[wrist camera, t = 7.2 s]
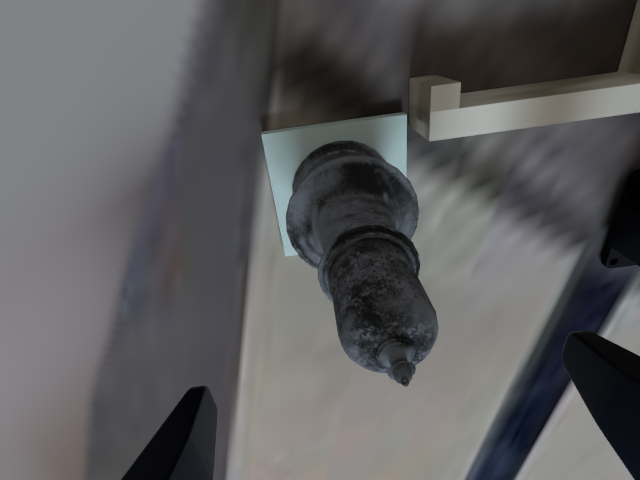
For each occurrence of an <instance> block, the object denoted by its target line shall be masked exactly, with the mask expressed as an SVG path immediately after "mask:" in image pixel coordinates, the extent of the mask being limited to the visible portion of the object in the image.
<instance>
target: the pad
mask: <svg viewBox="0 0 640 480" xmlns="http://www.w3.org/2000/svg"><path fill="white" fill-rule="evenodd" d="M261 136H262V141H263V146H264V151H265V156H266V161H267V166H268V171H269V176H270V181H271V186H272V191H273V196H274V201H275V206H276V211H277V216H278V221H279V226H280V231H281V236H282V241H283V246H284V251H285V256H294V255H298V253H297V252H296V251H295V249H294V248H293V247H292V245H291V242H290V239H289V237H288V234H287V229H286V212H287V208H288V204H289V199H290V197H291V196H292V194H293V189H292V186H293V181H294V177H295V173H296V172H297V170H298V168H299V166H300V164H301V163H302V161H303V160H304V159H305V158H306V157H307V156H308V155H309V154H310V153H311V152H312V151H314V150H316V149H317V148H319V147H321V146H322V145H325V144H328V143H332V142H335V141H355V142H359V143H363V144H366V145H367V146H369V147H371V148H372V149H374V150H376V151H377V152H378V153H379V154H380V155H381V156H382V158H383V159H384V160H385V161H386V162H387V163H389V164H391V165H393V166H394V167H396V168H398V169H399V170H400V171H401V172H402V173H403V175H404V176H405V177H406V148H407V114H405V113H404V112H400V113H393V114H385V115H378V116H371V117H364V118H356V119H349V120H342V121H335V122H327V123H320V124H313V125H306V126H298V127H291V128H284V129H277V130H269V131H262V134H261Z"/></svg>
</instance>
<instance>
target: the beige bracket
mask: <svg viewBox="0 0 640 480" xmlns="http://www.w3.org/2000/svg"><path fill="white" fill-rule="evenodd" d="M460 91H461V82H458V81H455V80H452V79H448V78H445V77H441V76H438V75H429V76H421V77H414V78H410V87H409V126H410V127H412V128H413V129H414V130H415V131H417V132H418V133H419V134H420V135H422V136H423V137H424V138H426V139H427V140H428V141H436V140H443V139H450V138H457V137H464V136H472V135H479V134H486V133H493V132H501V131H508V130H515V129H522V128H530V127H537V126H544V125H551V124H559V123H566V122H573V121H580V120H587V119H595V118H602V117H609V116H616V115H624V114H631V113H638V112H640V0H637V3H636V7H635V10H634V14H633V18H632V21H631V25H630V28H629V32H628V36H627V39H626V43H625V46H624V50H623V54H622V57H621V61H620V64H619V68H618V72H612V73H605V74H598V75H591V76H583V77H576V78H569V79H562V80H554V81H547V82H540V83H533V84H525V85H518V86H511V87H504V88H496V89H489V90H482V91H475V92H467V93H460Z"/></svg>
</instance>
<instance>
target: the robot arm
mask: <svg viewBox="0 0 640 480" xmlns="http://www.w3.org/2000/svg"><path fill="white" fill-rule="evenodd" d="M601 263H602V264H603V265H604V266H606V267H607V268H617V267H624V266H631V265H638V266H640V169H638V170H636V171H634V172H633V173H632V174H631V175H630V177H629V179H628V182H627V185H626V188H625V191H624V194H623V197H622V200H621V203H620V206H619V209H618V212H617V215H616V217H615V220H614V223H613V226H612V229H611V232H610V235H609V238H608V241H607V244H606V247H605V250H604V253H603V256H602V259H601ZM562 362H563V364H564V367H565V368H566V370H567V372H568V374H569V375H570V377H571V379H572V381H573V383H574V384H575V386H576V388H577V390H578V392H579V393H580V395H581V397H582V399H583V401H584V402H585V404H586V406H587V408H588V410H589V411H590V413H591V415H592V417H593V418H594V420H595V422H596V423H597V425H598V426H599V428H600V430H601V431H602V433H603V434H604V436H605V437H606V439H607V440H608V441H609V443H610V444H611V446H612V447H613V449H614V450H615V452H616V453H617V455H618V456H619V457H620V459H621V460H622V462H623V463H624V465H625V466H626V468H627V469H628V471H629V472H630V474H631V475H632V476H633V478H634V479H635V480H640V356H638V355H636V354H634V353H632V352H630V351H628V350H626V349H624V348H622V347H620V346H618V345H617V344H615V343H613V342H611V341H609V340H607V339H605V338H603V337H601V336H599V335H597V334H595V333H593V332H591V331H587V330H583V331H576V332H571V333H569V334H568V336H567V339H566V342H565V345H564V348H563V351H562ZM216 427H217V407H216V404H215V402H214V399H213V397H212V395H211V392H210V390H209V388H208V387H207V386H199V387H193V388H190V389H189V390H188V391H187V392H186V394H185V395H184V396H183V398H182V399H181V400H180V402H179V403H178V404H177V406H176V407H175V408H174V410H173V411H172V412H171V414H170V415H169V416H168V418H167V419H166V420H165V422H164V423H163V424H162V426H161V427H160V428H159V430H158V431H157V432H156V434H155V435H154V436H153V438H152V439H151V440H150V442H149V443H148V444H147V446H146V447H145V448H144V450H143V451H142V452H141V454H140V455H139V456H138V458H137V459H136V460H135V462H134V463H133V464H132V466H131V467H130V468H129V470H128V471H127V472H126V474H125V475H124V476H123V478H122V479H121V480H213V472H214V458H215V442H216Z"/></svg>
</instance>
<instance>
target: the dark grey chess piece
mask: <svg viewBox="0 0 640 480" xmlns="http://www.w3.org/2000/svg"><path fill="white" fill-rule="evenodd" d="M292 189H293V194H292V196H291V197H290V199H289V204H288V208H287V212H286V229H287V234H288V237H289V239H290V242H291V245H292V247H293V248H294V249H295V251H296V252H297V253H298V255H299V256H300V257H301V258H302V259H303V260H304V261H305V262H307V263H308V264H309V265H311V266H312V267H314V268H316V269H318V280H319V283H320V286H321V288H322V291H323V292H324V293H325V295H326V296H327V297H328V299H330V300H331V301H332V302H333V304H334V311H335V317H336V324H337V330H338V336H339V339H340V342H341V345H342V347H343V349H344V351H345V352H346V354H347V355H348V356H349V358H350V359H351V360H353V361H354V362H356V363H357V364H359V365H360V366H362V367H363V368H365V369H368V370H370V371H373V372H379V373H388V375H389V377H390V378H391V379H393V380H396V381H397V383H400V384H402V385H403V386H408V385H409V382H410V381H411V379H412V375H413V374H414V373H415V369H416V368H415V365H416V364H418V363H419V362H421V361H422V360H423V359H424V358H425V357H426V356H427V355H428V354H429V352H430V351H431V349H432V347H433V345H434V343H435V341H436V338H437V334H438V322H437V316H436V311H435V309H434V308H433V306H432V304H431V302H430V300H429V298H428V296H427V294H426V292H425V290H424V288H423V286H422V284H421V282H420V281H419V279H418V275H419V269H420V261H419V254H418V252H417V250H416V248H415V246H414V244H413V242H412V241H411V239H412V236H413V234H414V232H415V230H416V227H417V221H418V215H419V208H418V201H417V195H416V193H415V191H414V189H413V187H412V185H411V183H410V181H409V180H408V179H407V178H406V177H405V176H404V175H403V173H402V172H401V171H400V170H399V169H398V168H396V167H394V166H393V165H391V164H389V163H387V162H386V161H385V160H384V159H383V158H382V156H381V155H380V154H379V153H378V152H377V151H376V150H374V149H372V148H371V147H369V146H367V145H366V144H363V143H359V142H355V141H335V142H332V143H328V144H325V145H322V146H321V147H319V148H317V149H316V150H314V151H312V152H311V153H310V154H309V155H308V156H307V157H306V158H305V159H304V160H303V161H302V163H301V164H300V166H299V168H298V170H297V172H296V173H295V177H294V181H293V186H292Z"/></svg>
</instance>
